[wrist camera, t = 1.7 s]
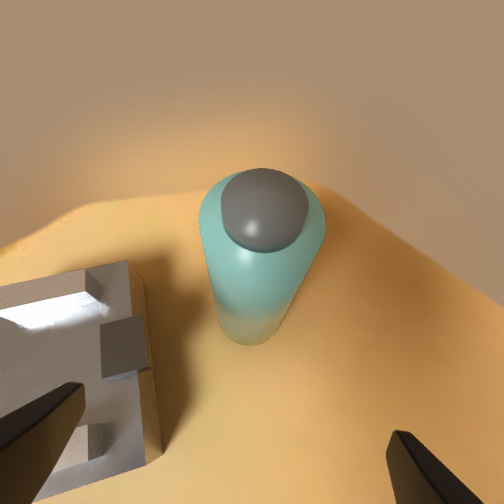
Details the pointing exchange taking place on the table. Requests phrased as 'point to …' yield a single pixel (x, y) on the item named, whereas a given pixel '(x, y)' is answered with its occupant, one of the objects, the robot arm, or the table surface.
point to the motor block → (84, 367)
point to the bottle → (258, 248)
